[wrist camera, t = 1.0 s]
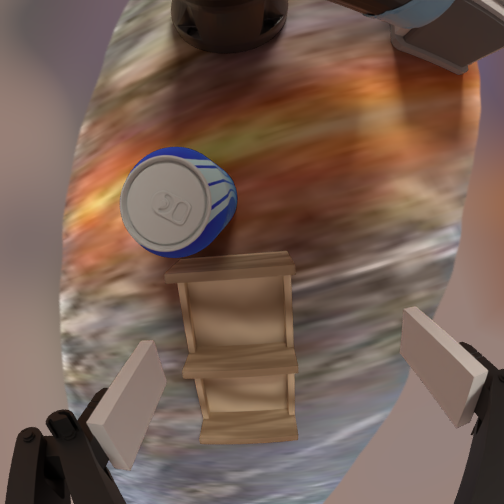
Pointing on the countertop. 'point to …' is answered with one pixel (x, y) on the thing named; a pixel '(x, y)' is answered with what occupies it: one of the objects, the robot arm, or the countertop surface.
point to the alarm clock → (456, 35)
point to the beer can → (177, 202)
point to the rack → (240, 344)
